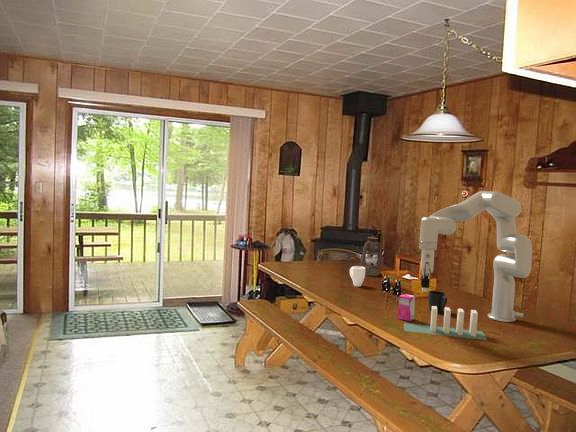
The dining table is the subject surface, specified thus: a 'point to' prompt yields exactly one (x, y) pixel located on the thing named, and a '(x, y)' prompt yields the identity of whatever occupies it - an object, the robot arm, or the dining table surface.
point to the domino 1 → (424, 288)
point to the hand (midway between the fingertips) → (424, 285)
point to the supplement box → (406, 307)
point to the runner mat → (440, 331)
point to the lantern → (372, 250)
